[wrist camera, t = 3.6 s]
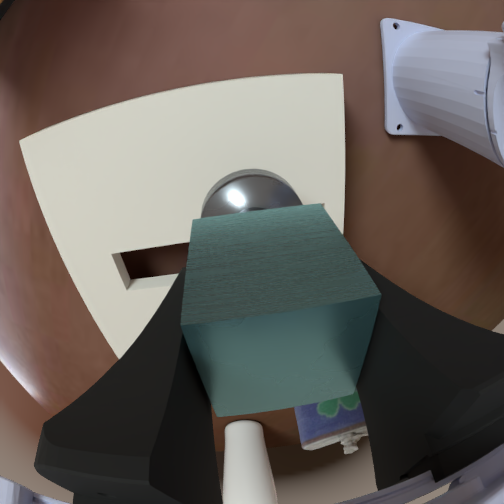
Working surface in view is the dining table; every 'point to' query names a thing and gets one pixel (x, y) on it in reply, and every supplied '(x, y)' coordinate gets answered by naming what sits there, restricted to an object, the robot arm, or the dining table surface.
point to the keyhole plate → (175, 176)
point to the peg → (273, 299)
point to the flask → (332, 423)
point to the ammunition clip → (4, 6)
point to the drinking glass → (247, 465)
